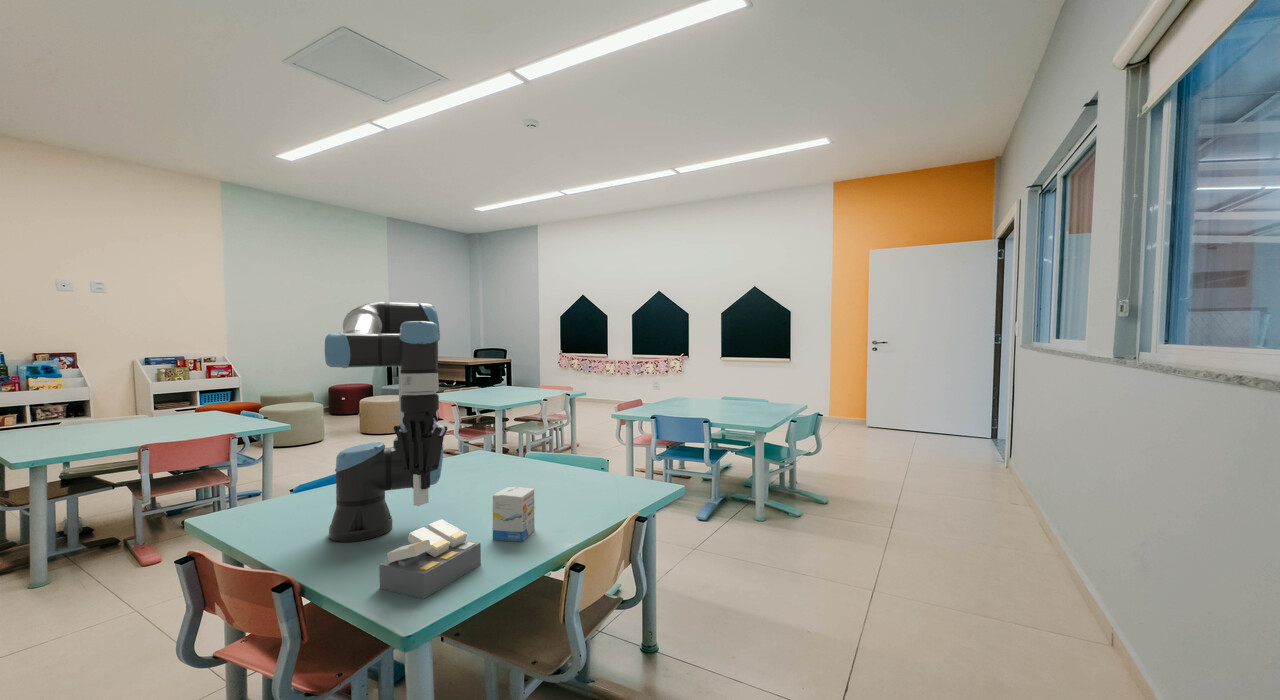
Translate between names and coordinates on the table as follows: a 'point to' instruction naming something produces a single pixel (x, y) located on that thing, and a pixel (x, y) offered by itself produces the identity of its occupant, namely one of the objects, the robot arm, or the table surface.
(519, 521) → the ink box
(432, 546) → the rocker
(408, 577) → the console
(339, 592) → the table surface
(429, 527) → the rocker
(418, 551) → the rocker
